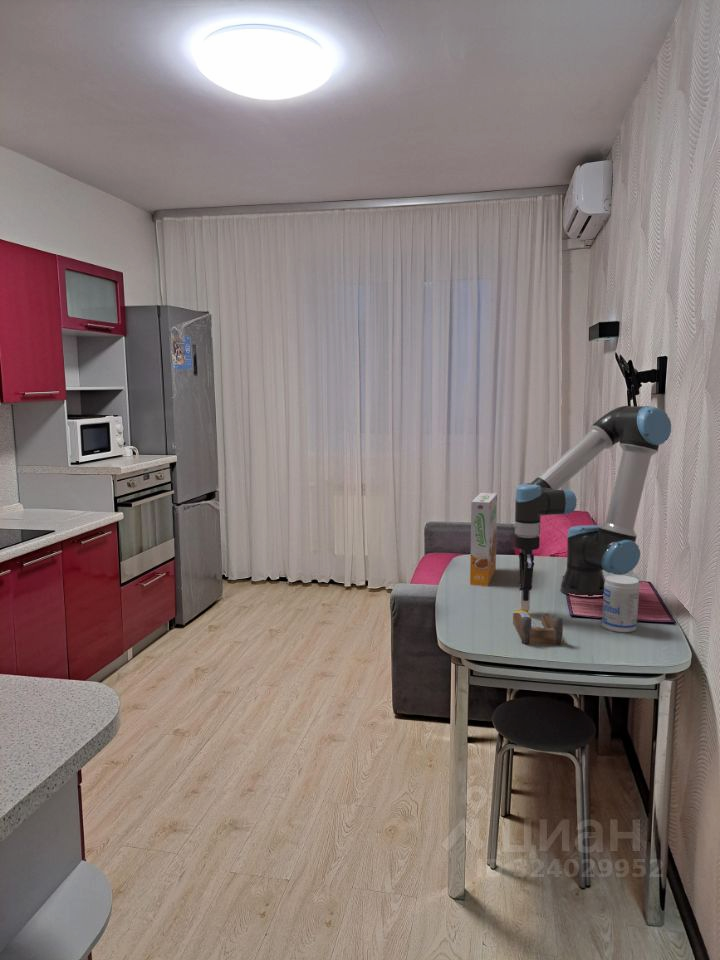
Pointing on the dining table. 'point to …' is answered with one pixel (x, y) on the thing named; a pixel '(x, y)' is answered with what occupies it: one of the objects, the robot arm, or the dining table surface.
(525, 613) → the candy bar
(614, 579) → the supplement tub
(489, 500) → the cereal box
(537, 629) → the guide channel
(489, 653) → the dining table surface
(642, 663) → the dining table surface
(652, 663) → the dining table surface
